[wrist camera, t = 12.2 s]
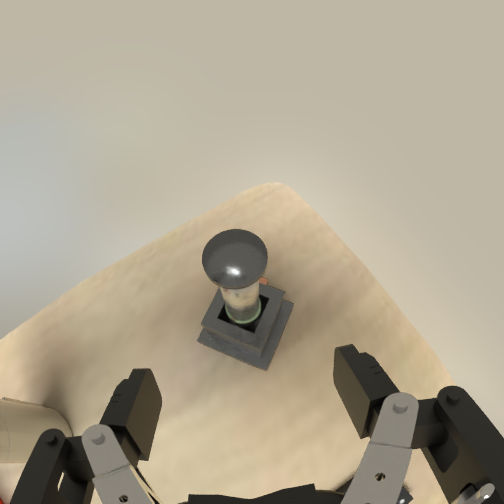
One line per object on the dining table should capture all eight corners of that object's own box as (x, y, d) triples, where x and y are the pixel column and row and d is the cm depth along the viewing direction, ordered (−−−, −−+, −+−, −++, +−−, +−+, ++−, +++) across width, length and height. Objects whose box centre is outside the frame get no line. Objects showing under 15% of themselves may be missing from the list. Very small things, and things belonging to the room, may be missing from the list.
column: (216, 322, 32) (190, 272, 20) (233, 286, 34) (219, 221, 23) (255, 338, 31) (252, 296, 19) (271, 300, 33) (277, 240, 22)
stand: (198, 342, 36) (185, 329, 30) (228, 281, 41) (223, 258, 35) (266, 371, 34) (267, 364, 28) (292, 305, 39) (299, 286, 33)
